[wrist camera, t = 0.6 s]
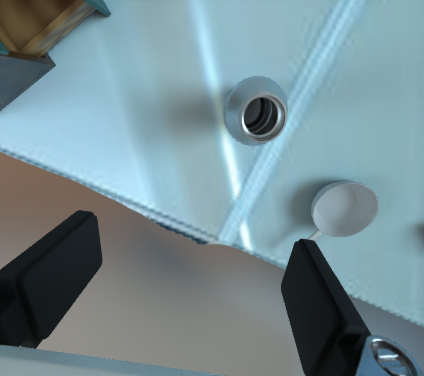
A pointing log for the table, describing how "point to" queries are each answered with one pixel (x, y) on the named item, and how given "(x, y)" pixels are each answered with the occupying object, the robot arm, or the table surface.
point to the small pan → (343, 209)
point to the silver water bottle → (256, 111)
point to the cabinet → (19, 73)
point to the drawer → (42, 22)
